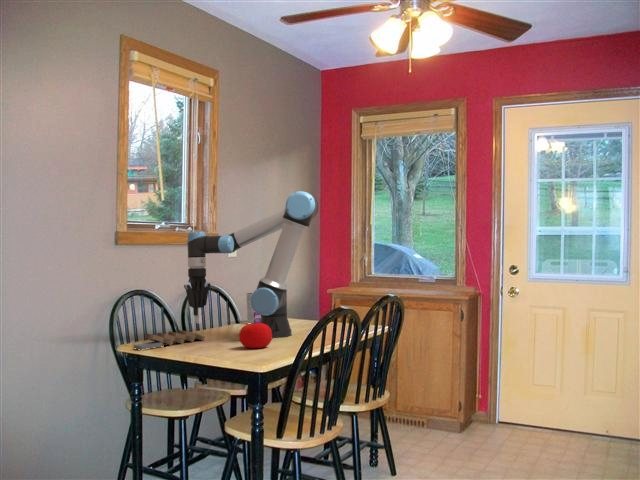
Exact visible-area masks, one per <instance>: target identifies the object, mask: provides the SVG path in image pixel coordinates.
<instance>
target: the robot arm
mask: <svg viewBox="0 0 640 480" xmlns="http://www.w3.org/2000/svg"><path fill="white" fill-rule="evenodd" d="M319 209H320V208H319V202H318V200H317V198H316V197H314V195H312V194H311V193H309V192H306V191H302V190H301V191H299V190H298V191H295V192H293V193H291V194H290V195H289V196H288V197H287V199H286V201H285V205H284V208H283V209H281V210H279V211H277V212H274V213H272V214H270V215H269V216H266V217H264V218H261V219H259V220H258V221H256V222H253V223H251V224H249V225H247V226H245V227H243V228H240V229H238V230H236V231H234V232H232V233H229V234H228V235H227V234H226V235H225V234H224V235H210V236H209V235H206V232H205V231H189V232H188V233H187V241H186V242H187V243H186V244H187V267H188V269H187V272H188V273H187V275H188V282H187V284H184V285H183V288H184V290H185V291H186V296H187V297H186V298H187V302H188V305H189V307H191V308H192V309H193V316H194V324H202V322H203V319H202V318H203V317H202V316H203V309H204V308H205V306H207V302H208V298H209V295H208V294H209V291H210V287H211V283H210V282H208V281H207V279H206V276H207V268H206V266H207V262H206V260H207V257H206V255H207V254H232V253H235V252H236V251H237V250H240V249H241V248H243V247H246V246H247V245H249V244H252V243H254V242H257V241H258V240H260V239H263V238H264V237H265V238H266V237H267V236H269V235H272V234H275V233H276V232H278V231H280V230H281V232H280V234H279V237H278V239H277V242H276V246H275V248H274V251H273V253H272V256H271V259H270V261H269V265H268V267H267V270H266V273H265V275H264V276H263V277H262V278H260V279H259V281H258V282H257V283H258V284H257V286H256V289H255V290H254V291H252V293H253V294H252V296H251V306H252V308H253V310H254V311H255V312H256V313H258V314H260V315H261V320H260V323H262V324H266V325H268V326H269V327H270V329H271V332H272V339H273V338H285V337H290V336H292V328H291V325H290V322H289V319H288V295H287V294H288V293H287V292H288V289H287V285H286V284H285V282H286V280H287V276H288V273H289V271H290V268H291V265H292V263H293V261H294V259H295V258H294V257H295V255H296V251H297V249H298V247H299V244H300V241H301V239H302V237H303V236H302V235H303V233H304V231H305V230H307V229H309V227H310V224H311V222H312V220H313V219H314V218H315V217H316V215H317V214H318V212H319ZM262 321H263V322H262Z"/></svg>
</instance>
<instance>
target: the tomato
mask: <svg viewBox="0 0 640 480" xmlns="http://www.w3.org/2000/svg"><path fill="white" fill-rule="evenodd" d="M262 322H263V321H262ZM238 338H239V342H240V343H241V345H242V346H243V347H244V348H247V349H262V348H266V347H267V346H269V345H270V343H271V342H272V340H273V338H272V332H271V329H270V327H269V326H268V325H266V324H262V323H256V322H254V323H251V324H248V323H246V325H243V326H242V327H241V328H240V331H239V333H238Z"/></svg>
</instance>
